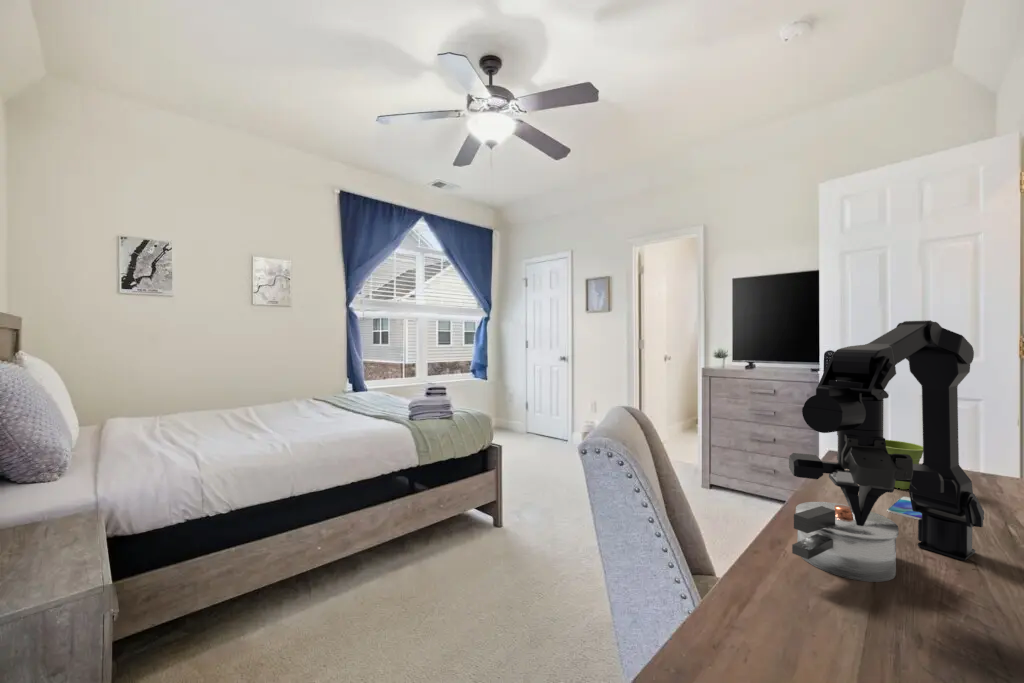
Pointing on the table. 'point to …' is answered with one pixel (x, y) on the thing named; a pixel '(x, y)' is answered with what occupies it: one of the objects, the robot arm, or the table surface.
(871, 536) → the cooker lid
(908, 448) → the plant pot
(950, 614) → the table surface
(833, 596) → the table surface
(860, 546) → the pressure cooker pot
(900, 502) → the smartphone
